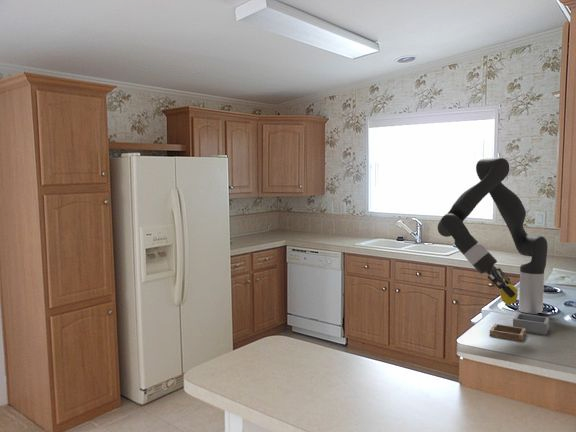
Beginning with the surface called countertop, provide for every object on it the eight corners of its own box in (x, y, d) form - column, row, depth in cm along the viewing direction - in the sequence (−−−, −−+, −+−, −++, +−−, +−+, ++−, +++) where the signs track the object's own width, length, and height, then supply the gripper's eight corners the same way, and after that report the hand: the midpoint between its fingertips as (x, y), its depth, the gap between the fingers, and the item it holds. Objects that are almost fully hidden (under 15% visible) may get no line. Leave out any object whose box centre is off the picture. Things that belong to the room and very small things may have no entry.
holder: (516, 322, 180) (517, 312, 180) (548, 327, 174) (549, 317, 174) (512, 329, 171) (513, 318, 171) (546, 334, 165) (546, 323, 165)
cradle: (494, 328, 171) (494, 323, 171) (525, 333, 166) (525, 328, 166) (489, 335, 163) (489, 330, 163) (522, 341, 157) (522, 335, 157)
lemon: (502, 302, 168) (503, 281, 167) (518, 305, 164) (519, 283, 164) (498, 305, 164) (499, 283, 163) (515, 308, 160) (515, 285, 160)
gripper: (484, 253, 161) (520, 291, 155) (491, 249, 173) (525, 284, 167) (467, 267, 164) (503, 304, 158) (476, 262, 176) (509, 297, 170)
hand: (514, 294), depth 163 cm, fingers closed on lemon, 5 cm apart
